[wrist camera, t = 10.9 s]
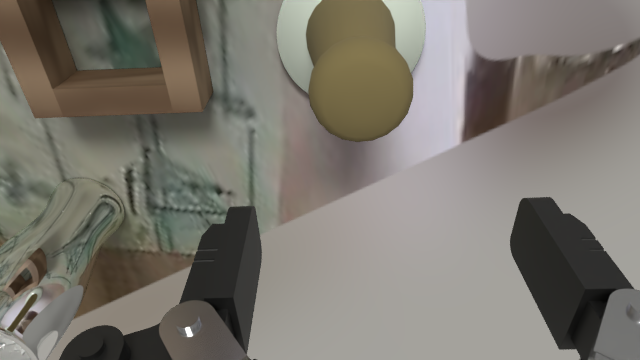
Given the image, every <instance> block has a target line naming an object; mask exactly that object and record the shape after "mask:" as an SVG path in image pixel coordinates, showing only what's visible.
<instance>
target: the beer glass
mask: <svg viewBox="0 0 640 360" xmlns="http://www.w3.org/2000/svg"><path fill="white" fill-rule="evenodd" d="M124 214H125V212H124V207H123V204H122V202H121V200H120V199H119V197H118V196H117V195H116V194H115V193H114V192H113V191H112V190H111V189H110V188H108V187H107V186H105V185H103V184H101V183H99V182H97V181H94V180H90V179H85V178H73V179H68V180H66V181H63V182H62V183H60V184H59V185H58V186H57V187H56V188H55V189H54V191H53V193H52V194H51V196H50V198H49V200H48V203H47V205H46V206H45V208H44V210H43V211H42V212H41V214H40V215H39V216H38V217H37V218H36V219H35V220H34V221H32V222H31V223H30V224H29V225H27V226H26V227H25V228H24V229H22V230H21V231H20V232H18V233H17V234H16V235H14V236H13V237H12V238H10V239H9V240H8V241H6V242H5V243H4V244H3V245H1V246H0V360H47V358H48V357H49V355H50V354H51V353H52V351H53V350H54V348H55V347H56V345H57V344H58V342H59V341H60V339H61V338H62V336H63V335H64V333H65V331H66V330H67V328H68V326H69V325H70V323H71V321H72V320H73V318H74V316H75V314H76V312H77V310H78V308H79V306H80V304H81V301H82V299H83V297H84V294H85V292H86V289H87V286H88V283H89V280H90V277H91V274H92V271H93V268H94V265H95V262H96V259H97V256H98V254H99V251H100V250H101V248H102V246H103V244H104V243H105V242H106V240H107V239H108V238H109V237H110V236H111V235H112V234H113V233H114V232H115V231H116V230H117V229H118V228H119V227H120V225H121V224H122V222H123V219H124Z"/></svg>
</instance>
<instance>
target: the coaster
mask: <svg viewBox="0 0 640 360" xmlns="http://www.w3.org/2000/svg"><path fill="white" fill-rule="evenodd" d="M321 1H322V0H284V1H283V4H282V6H281V9H280V12H279V17H278V22H277V44H278V50H279V54H280V57H281V60H282V62H283V64H284V67H285V69H286V70H287V72H288V73H289V75H290V76H291V78H292V79H293V80H294V81H295V83H296V84H297V85H298V86H299V87H300V88H301V89H303V90H304V91H305V92H307V93H308V94H309V92H308V89H309V83H310V78H311V72H312V70H313V68H314V66H313V63H312V60H311V57H310V54H309V52H308V49H307V42H306V29H307V24H308V20H309V18H310V16H311V14H312V12H313V10H314V8H315V7H316V6H317V5H318V4H319V3H320V2H321ZM382 1H383V2H384V4H385V5H386V6H387V7H388V9H389V10H390V12H391V15H392V17H393V20H394V23H395V45H396V49H397V51H398V52H399V53H400V54H401V55H402V57H403V58H404V59H405V60H406V62H407V64H408V66H409V69H410V72H412V71H413V69H414V67H415V66H416V64H417V62H418V60H419V57H420V55H421V52H422V49H423V45H424V40H425V29H426V23H425V14H424V10H423V6H422V3H421V1H420V0H382Z"/></svg>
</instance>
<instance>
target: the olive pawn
mask: <svg viewBox="0 0 640 360" xmlns="http://www.w3.org/2000/svg"><path fill="white" fill-rule="evenodd" d="M306 42H307V49H308V52H309V54H310V57H311V60H312V63H313V66H314V68H313V70H312V72H311V78H310V83H309V89H308V92H309V99H310V106H311V108H312V110H313V112H314V114H315V116H316V118H317V120H318V121H319V123H320V124H321V125H322V126H323V127H324V128H325V129H326V130H327V131H328V132H329V133H331V134H333V135H335V136H337V137H339V138H341V139H344V140H349V141H355V142H361V141H371V140H375V139H377V138H380V137H382V136H385V135H387V134H388V133H390V132H391V131H392V130H393V129H395V128H396V127H397V126H399V124H400V123H401V122H402V120H403V119H404V118H405V116H406V115H407V114H408V111H409V108H410V105H411V102H412V99H413V77H412V75H411V72H410V69H409V66H408V64H407V62H406V60H405V59H404V58H403V57H402V55H401V54H400V53H399V52H398V51H397V49H396V45H395V23H394V20H393V17H392V15H391V12H390V10H389V9H388V7H387V6H386V5H385V4H384V2H383V1H382V0H322V1H321V2H320V3H319V4H318V5H317V6H316V7H315V8H314V10H313V12H312V14H311V16H310V18H309V20H308V24H307V29H306Z"/></svg>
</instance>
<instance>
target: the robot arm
mask: <svg viewBox="0 0 640 360" xmlns="http://www.w3.org/2000/svg"><path fill="white" fill-rule="evenodd" d="M510 247H511V253H512V256H513V258H514V260H515V262H516V264H517V266H518V268H519V270H520V272H521V274H522V276H523V278H524V280H525V282H526V284H527V286H528V288H529V290H530V292H531V294H532V296H533V298H534V300H535V302H536V303H537V306H538V308H539V310H540V312H541V314H542V316H543V318H544V320H545V322H546V324H547V326H548V328H549V330H550V332H551V334H552V336H553V338H554V340H555V342H556V344H557V346H558V348H559V349H577V351H578V353H579V355H580V359H579V360H640V291H639V290H635V289H634V288H633V287H632V286H631V284H630V283H629V281H628V280H627V279H626V277H625V276H624V275H623V273H622V272H621V271H620V270H619V268H618V267H617V265H616V264H615V263H614V262H613V260H612V259H611V258H610V256H609V255H608V254H607V252H606V251H604V250H603V249H604V248H603V247H602V246H601V244H600V243H599V242H598V241H597V240H595V236H594V235H593V234H592V232H591V231H590V230H589V229H588V227H587V226H586V225H585V224H584V223H582V222H581V221H580V220H578V219H577V218H575V217H574V216H573V215H571V214H563V213H562V211H561V210H560V208H559V207H558V206H557V204H556V203H555V201H554V200H553V199H552V198H550V197H540V198H523V199H522V200H521V201H520V204H519V207H518V211H517V215H516V219H515V222H514V226H513V230H512V234H511V238H510ZM261 253H262V250H261V240H260V234H259V228H258V222H257V215H256V210H255V207H254V206H242V207H230V208H229V209H228V213H227V216H226V220H225V224H212V225H211V226H210V228H209V229H208V230H207V231H206V232H205V233H204V234H203V235H202V237H201V240H200V243H199V246H198V252H196V255H195V258H194V262H193V264H192V267H191V270H190V273H189V276H188V279H187V282H186V285H185V288H184V291H183V294H182V298H181V300H180V303H179V305H176V306H175V307H173V308H172V309H171V310H169V311H168V312H167V313H166V314H165V316H164V317H163V319H162V320H161V322H160V323H159V324H158V325H155V326H153V327H151V328H148V329H144V330H141V331H138V332H134V333H131V334H128V335H124V336H123V334H122V332H121V331H120V330H119V329H117V328H116V327H113V326H108V325H104V326H97V327H94V328H90V329H88V330H86V331H84V332H82V333H81V334H79V335H77V336H76V337H75V338H74V339H73V340H72V341H71V342H70V343H69V344H68V345H67V346H66V348H65V349H64V351H63V353H62V355H61V357H60V359H59V360H251V359H250V358H249V357H248V356H247V350H248V344H249V337H250V331H251V324H252V318H253V312H254V305H255V299H256V293H257V286H258V280H259V273H260V267H261V256H262V254H261ZM253 360H256V359H253Z"/></svg>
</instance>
